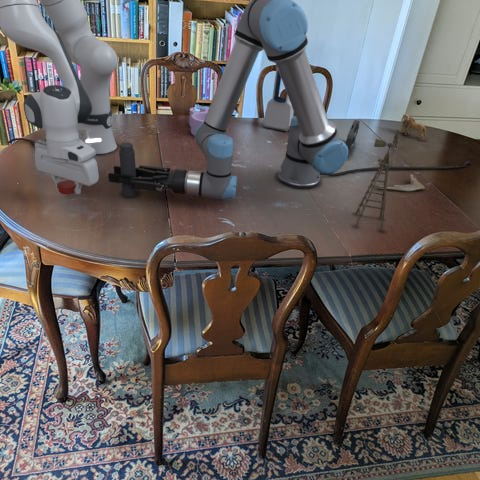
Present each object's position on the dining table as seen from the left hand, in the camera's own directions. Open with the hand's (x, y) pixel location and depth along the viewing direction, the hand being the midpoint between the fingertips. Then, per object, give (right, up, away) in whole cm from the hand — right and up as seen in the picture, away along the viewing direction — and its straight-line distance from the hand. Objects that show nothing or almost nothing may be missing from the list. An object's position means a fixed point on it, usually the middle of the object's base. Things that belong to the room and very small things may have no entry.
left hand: (68, 190), depth 139 cm
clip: (+35, +32, +62) cm, 78 cm away
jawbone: (+109, +6, +33) cm, 114 cm away
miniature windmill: (+91, -9, +7) cm, 92 cm away
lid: (0, +1, -1) cm, 2 cm away
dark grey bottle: (+16, 0, +9) cm, 18 cm away
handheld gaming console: (+97, +23, +59) cm, 116 cm away
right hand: (+11, +6, +5) cm, 14 cm away
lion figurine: (+132, +34, +81) cm, 159 cm away
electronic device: (+68, +36, +74) cm, 107 cm away
